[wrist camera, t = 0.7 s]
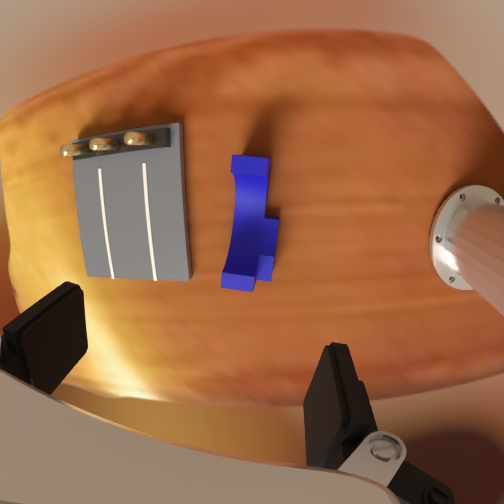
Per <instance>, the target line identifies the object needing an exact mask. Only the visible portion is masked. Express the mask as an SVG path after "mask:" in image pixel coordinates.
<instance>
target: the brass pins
mask: <svg viewBox="0 0 504 504" xmlns="http://www.w3.org/2000/svg"><path fill="white" fill-rule="evenodd" d="M167 147H171V144H170V128H166V127H165V128H157V129H150V130H143V131H136V132H127V133H123V134H117V135H112V136H106V137H101V138H93V139H91V140H86V141H81V142H76V143H72V144H68V145H62V146H61V147H60V154H61V156H73V160H81V159H86V158H92V157H98V156H105V155H111V154H118V153H125V152H132V151H140V150H149V149H157V148H167Z"/></svg>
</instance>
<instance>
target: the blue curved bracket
mask: <svg viewBox="0 0 504 504" xmlns="http://www.w3.org/2000/svg"><path fill="white" fill-rule="evenodd" d="M271 159H272V158H266V157H257V156H248V155H232V163H231V172H232V173H233V175H234V179H235V213H234V222H233V230H232V237H231V242H230V247H229V252H228V256H227V260H226V263H225V266H224V269H223V271H222V278H221V288H228V289H235V290H242V291H249V292H253V290H254V286H255V282H256V280H262V281H269V282H271V278H272V271H273V263H274V256H275V248H276V241H277V233H278V225H279V218H278V217H271V216H265V212H266V203H267V194H268V186H269V177H270V168H271Z"/></svg>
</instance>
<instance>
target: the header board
mask: <svg viewBox="0 0 504 504" xmlns="http://www.w3.org/2000/svg"><path fill="white" fill-rule="evenodd" d="M165 127H166V128H170V144H171V147H167V148H157V149H149V150H140V151H132V152H125V153H118V154H111V155H105V156H98V157H92V158H86V159H81V160H73V173H74V186H75V196H76V206H77V214H78V222H79V229H80V236H81V242H82V249H83V254H84V260H85V265H86V271H87V276H91V277H109V278H112V279H115V278H130V279H153V280H154V281H157V280H180V281H190V279H191V278H192V268H191V257H190V245H189V233H188V220H187V205H186V189H185V170H184V148H183V123H170V124H162V125H155V126H148V127H141V128H134V129H128V130H122V131H116V132H111V133H106V134H100V135H95V136H90V137H86V138H81V139H77V140H72V143H76V142H81V141H86V140H91V139H93V138H101V137H106V136H112V135H117V134H123V133H127V132H136V131H143V130H150V129H157V128H165ZM72 158H73V156H72Z"/></svg>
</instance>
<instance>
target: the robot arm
mask: <svg viewBox="0 0 504 504" xmlns="http://www.w3.org/2000/svg"><path fill="white" fill-rule="evenodd" d="M436 237H437V238H436ZM429 250H430V256H431V261H432V263H433V266H434V269H435V270H436V272H437V274H438V275H439V276H440V277H441V278H442V279H443V280H444V281H445V282H446V283H447V284H448V285H449V286H452V287H454V288H456V289H460V290H472V289H474V290H475V291H477V292H478V293H479V294H480V295H481V296H482V297H483V298H484V299H486V300H487V301H488V302H489V303H490V304H491V305H492V306H493V307H494V308H496V309H497V310H498V311H499V312H500V313H501V314H502V315H503V316H504V200H503V199H502V197H501V196H500V195H499V194H498V193H497V192H496V191H494V190H493V189H491V188H489V187H486V186H482V185H475V184H473V185H466V186H464V187H461V188H459V189H457V190H456V191H454V192H453V193H451V194H450V195H449V196H448V197H447V198H446V199H445V200H444V202H443V203H442V205H441V206H440V208H439V209H438V211H437V213H436V216H435V218H434V220H433V224H432V227H431V232H430V239H429ZM3 332H4V335H2V336H1V335H0V504H454V495H453V492H452V491H451V490H450V488H449V487H447V486H446V485H445V484H443V483H442V482H440V481H438V480H436V479H435V478H433V477H431V476H430V475H428V474H426V473H425V472H423V471H422V470H420V469H418V468H417V467H415V466H414V465H412V464H410V463H409V462H407V461H406V460H404V459H405V456H406V447H405V445H404V443H403V442H402V441H401V439H399V438H398V437H397V436H395V435H394V434H391V433H389V432H385V431H378V429H377V426H376V422H375V419H374V415H373V412H372V408H371V405H370V402H369V398H368V395H367V392H366V389H365V385H364V383H363V382H362V381H359V380H358V377H357V374H356V371H355V367H354V364H353V361H352V358H351V355H350V351H349V348H348V346H347V344H341V343H334V342H332V343H331V344H330V346H328V345H326V346H325V347H324V350H323V352H322V355H321V358H320V360H319V363H318V366H317V368H316V371H315V373H314V376H313V379H312V381H311V384H310V386H309V389H308V391H307V394H306V396H305V399H304V404H303V409H304V423H305V441H306V461H307V466H304V465H297V464H288V463H279V462H273V461H266V460H259V459H253V458H247V457H241V456H236V455H230V454H225V453H220V452H215V451H210V450H206V449H202V448H198V447H193V446H190V445H185V444H182V443H177V442H174V441H171V440H167V439H164V438H160V437H157V436H153V435H150V434H147V433H144V432H141V431H138V430H135V429H132V428H129V427H126V426H123V425H120V424H117V423H115V422H112V421H109V420H107V419H104V418H102V417H99V416H96V415H94V414H92V413H89V412H87V411H84V410H82V409H80V408H77V407H75V406H73V405H71V404H68V403H66V402H64V401H62V400H60V399H57V398H55V397H53V396H51V394H52V392H53V391H54V390H55V389H56V388H57V386H58V385H59V384H60V383H61V382H62V380H63V379H64V378H65V377H66V376H67V374H68V373H69V372H70V371H71V370H72V368H73V367H74V366H75V365H76V364H77V363H78V361H79V360H80V359H81V358H82V357H83V356H84V354H85V353H86V351H87V349H88V341H87V332H86V321H85V309H84V294H83V290H81V288H80V286H79V285H77V284H74V283H71V282H67V281H66V282H64V283H63V284H61V285H60V286H58V287H57V288H56V289H54V290H53V291H51V292H50V293H49V294H47V295H46V296H44V297H43V298H42V299H40V300H39V301H38V302H36V303H35V304H33V305H32V306H31V307H29V308H28V309H27V310H25V311H24V312H23V313H21V314H20V315H19V316H17V317H16V318H15V319H13V320H12V321H11V322H10V323H8V324H7V325H6V326H4V327H3Z"/></svg>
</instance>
